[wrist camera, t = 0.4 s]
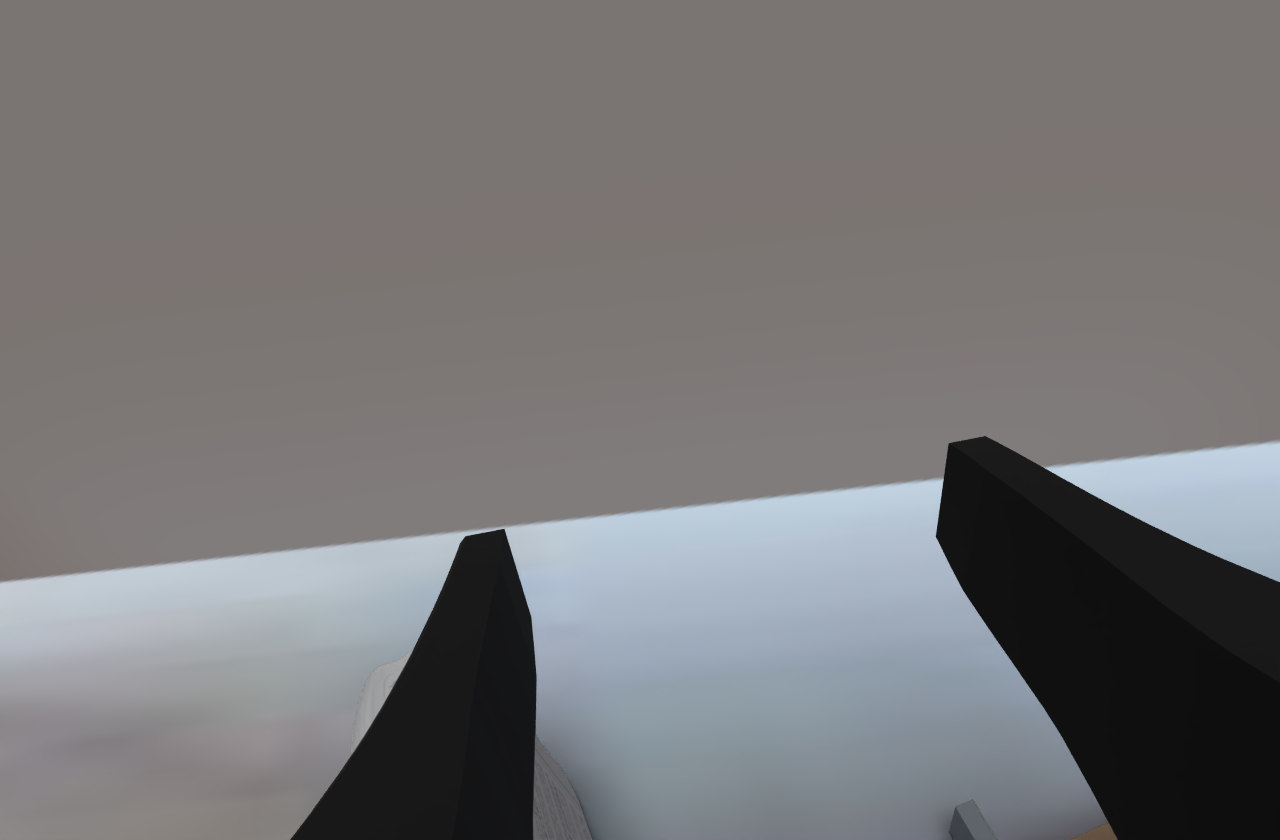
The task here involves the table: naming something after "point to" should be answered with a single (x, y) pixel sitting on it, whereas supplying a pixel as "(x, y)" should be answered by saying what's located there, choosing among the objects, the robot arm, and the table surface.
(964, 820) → the channel
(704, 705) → the table surface
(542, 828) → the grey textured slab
